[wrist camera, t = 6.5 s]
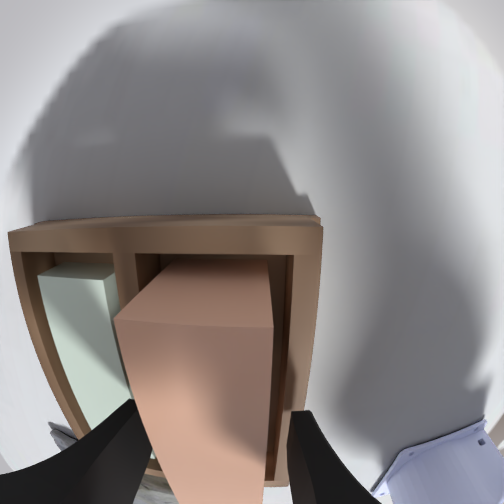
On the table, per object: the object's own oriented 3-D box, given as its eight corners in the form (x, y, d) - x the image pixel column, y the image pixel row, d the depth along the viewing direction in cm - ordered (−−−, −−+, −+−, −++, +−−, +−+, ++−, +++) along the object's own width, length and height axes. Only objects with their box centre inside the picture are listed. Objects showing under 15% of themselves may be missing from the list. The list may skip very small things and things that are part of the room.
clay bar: (267, 259, 10) (273, 327, 5) (261, 439, 13) (261, 516, 8) (175, 258, 10) (113, 318, 5) (198, 435, 13) (182, 509, 8)
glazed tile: (127, 263, 10) (103, 280, 8) (163, 433, 13) (154, 459, 11) (64, 261, 10) (37, 275, 9) (111, 422, 13) (99, 444, 11)
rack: (316, 215, 11) (337, 227, 8) (291, 447, 14) (295, 486, 11) (44, 221, 11) (2, 232, 8) (100, 425, 14) (84, 455, 11)
